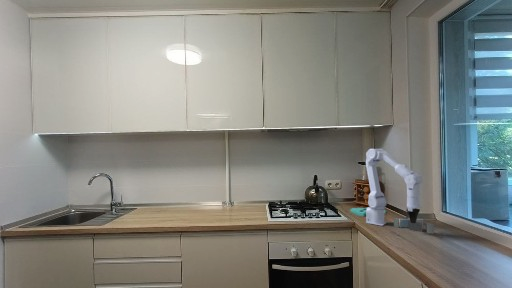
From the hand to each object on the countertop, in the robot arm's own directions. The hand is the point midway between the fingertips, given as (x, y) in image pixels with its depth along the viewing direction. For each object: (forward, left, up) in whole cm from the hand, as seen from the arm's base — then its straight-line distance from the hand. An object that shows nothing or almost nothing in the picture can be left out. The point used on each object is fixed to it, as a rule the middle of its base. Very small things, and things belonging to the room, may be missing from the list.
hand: (413, 222), depth 141 cm
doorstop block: (0, +7, -5) cm, 9 cm away
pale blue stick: (-3, +11, -5) cm, 12 cm away
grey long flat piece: (-1, +6, -5) cm, 9 cm away
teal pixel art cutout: (-34, +28, -6) cm, 45 cm away
